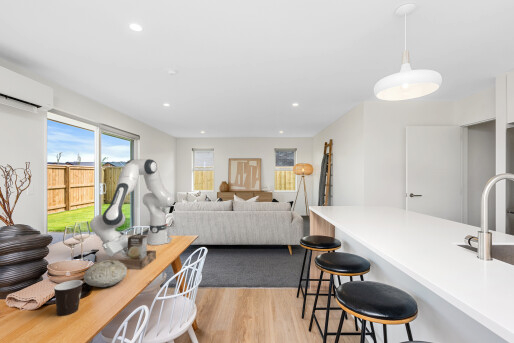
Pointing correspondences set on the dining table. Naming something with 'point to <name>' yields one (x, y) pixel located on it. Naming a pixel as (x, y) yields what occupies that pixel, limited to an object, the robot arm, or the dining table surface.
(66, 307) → the coffee mug
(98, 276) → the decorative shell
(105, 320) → the dining table surface
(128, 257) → the coffee box
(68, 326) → the dining table surface
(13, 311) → the dining table surface
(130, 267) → the brown wooden tray
